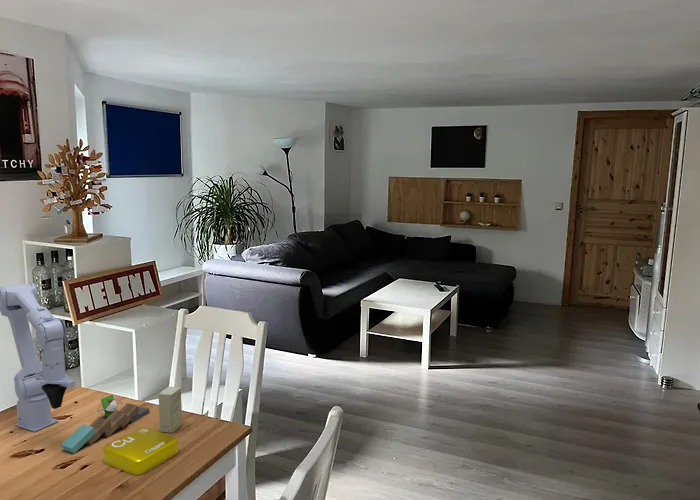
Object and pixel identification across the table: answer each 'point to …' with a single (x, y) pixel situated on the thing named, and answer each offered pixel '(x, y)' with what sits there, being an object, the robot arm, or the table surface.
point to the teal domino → (78, 438)
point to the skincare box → (170, 409)
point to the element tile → (140, 450)
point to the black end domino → (140, 414)
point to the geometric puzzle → (109, 405)
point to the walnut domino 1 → (98, 429)
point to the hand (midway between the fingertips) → (56, 407)
